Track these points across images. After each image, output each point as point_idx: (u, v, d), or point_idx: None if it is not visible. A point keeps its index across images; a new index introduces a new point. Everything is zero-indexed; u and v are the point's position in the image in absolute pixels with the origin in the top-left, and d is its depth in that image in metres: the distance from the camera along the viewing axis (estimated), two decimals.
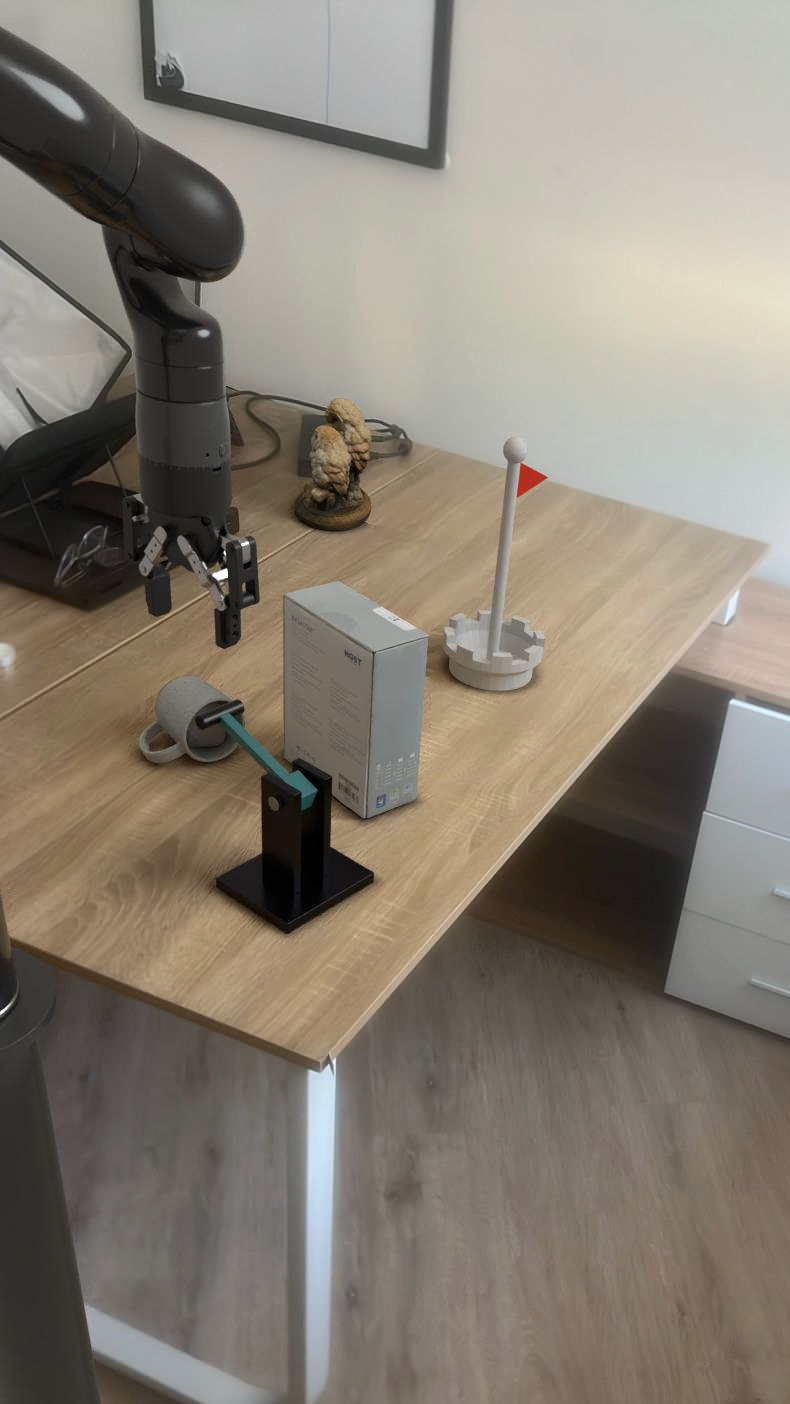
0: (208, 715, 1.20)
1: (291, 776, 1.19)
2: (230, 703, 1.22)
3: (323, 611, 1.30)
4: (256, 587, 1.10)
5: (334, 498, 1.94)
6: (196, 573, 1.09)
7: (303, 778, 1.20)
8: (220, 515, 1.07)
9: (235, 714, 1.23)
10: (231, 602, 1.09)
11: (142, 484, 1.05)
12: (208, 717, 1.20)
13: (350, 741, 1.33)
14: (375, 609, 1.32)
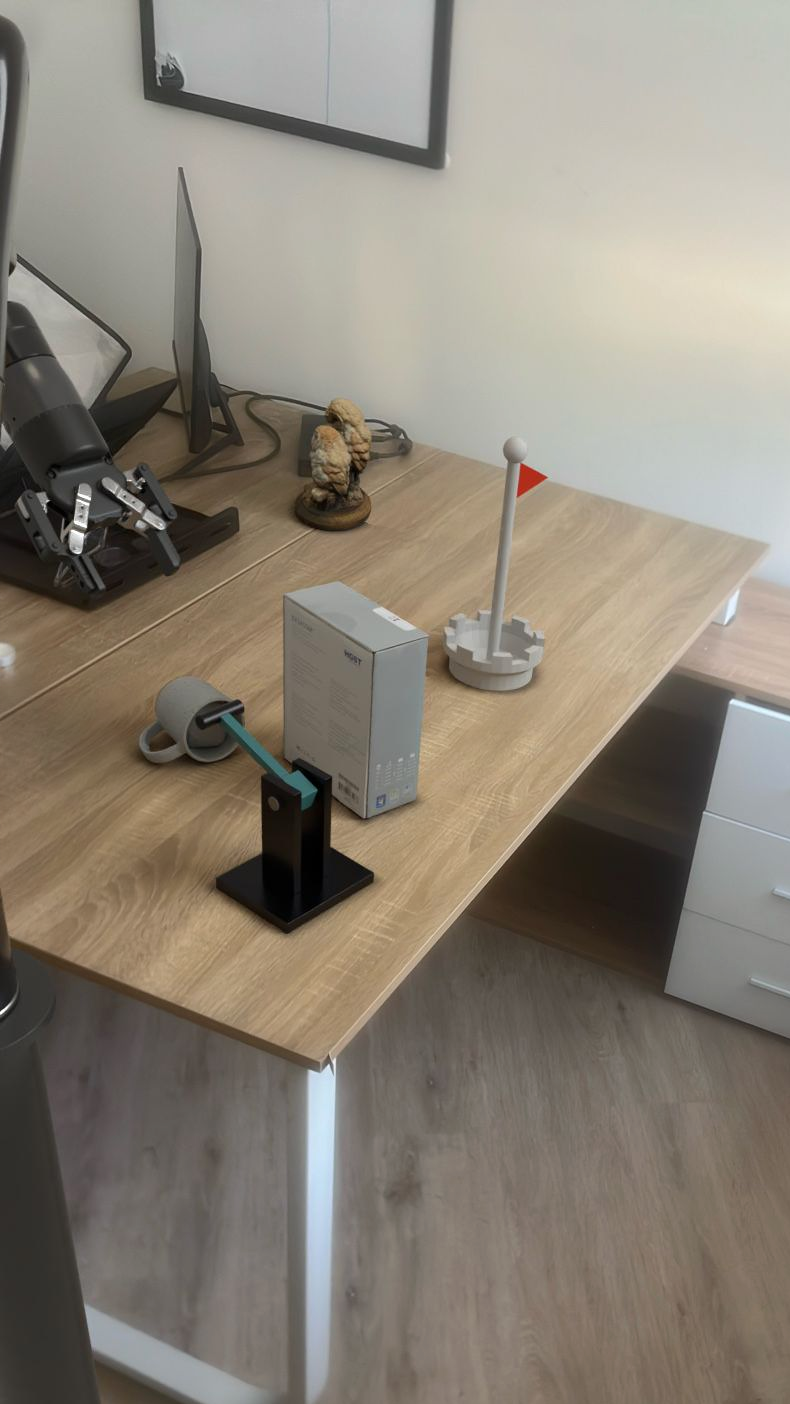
0: (208, 715, 1.20)
1: (291, 776, 1.19)
2: (230, 703, 1.22)
3: (323, 611, 1.30)
4: (160, 511, 1.25)
5: (334, 498, 1.94)
6: (131, 504, 1.20)
7: (303, 778, 1.20)
8: None
9: (235, 714, 1.23)
10: (168, 513, 1.23)
11: (64, 435, 1.15)
12: (208, 717, 1.20)
13: (350, 741, 1.33)
14: (375, 609, 1.32)
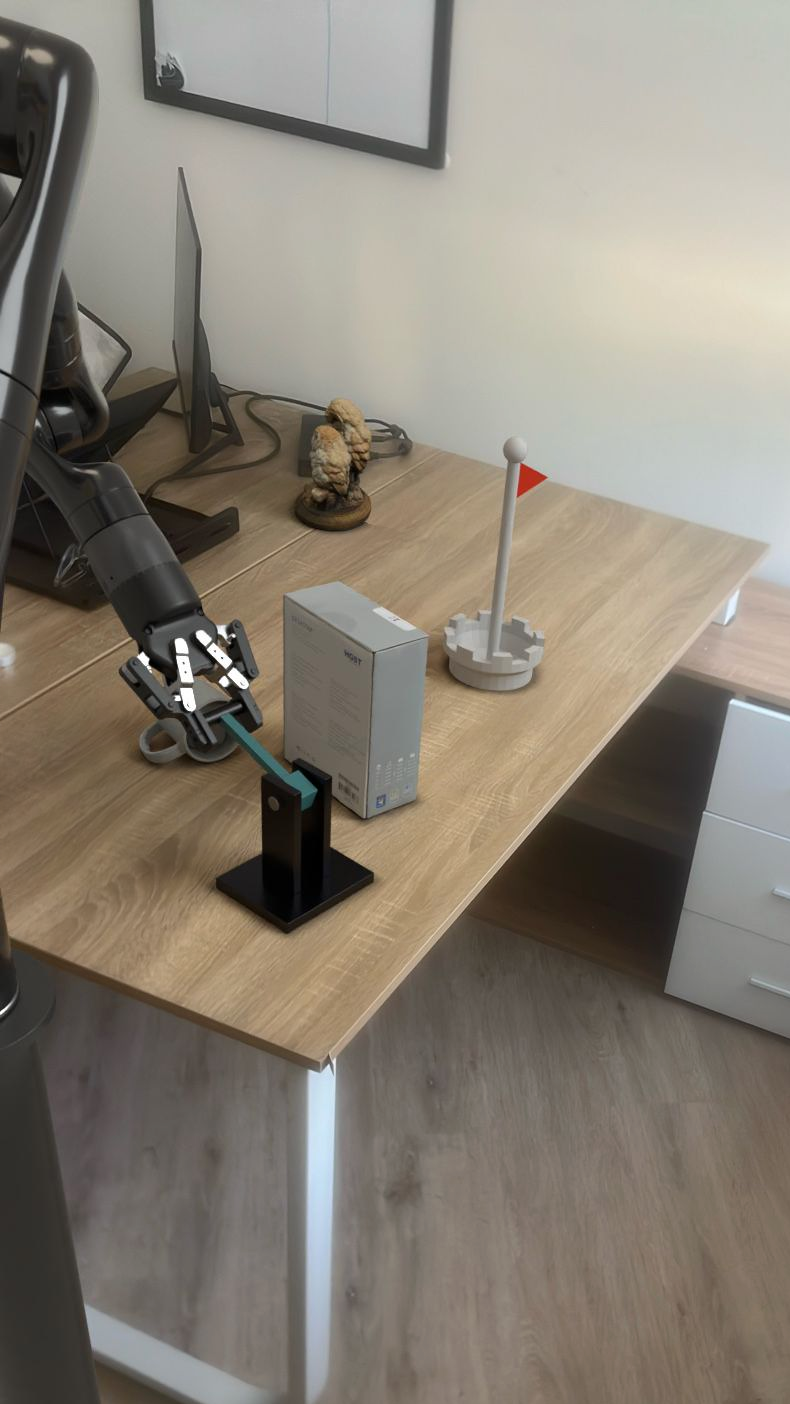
0: (208, 715, 1.20)
1: (291, 776, 1.19)
2: (230, 703, 1.22)
3: (323, 611, 1.30)
4: (244, 668, 1.26)
5: (334, 498, 1.94)
6: (219, 660, 1.21)
7: (303, 778, 1.20)
8: None
9: (235, 714, 1.23)
10: (250, 671, 1.24)
11: (161, 593, 1.17)
12: (208, 717, 1.20)
13: (350, 741, 1.33)
14: (375, 609, 1.32)
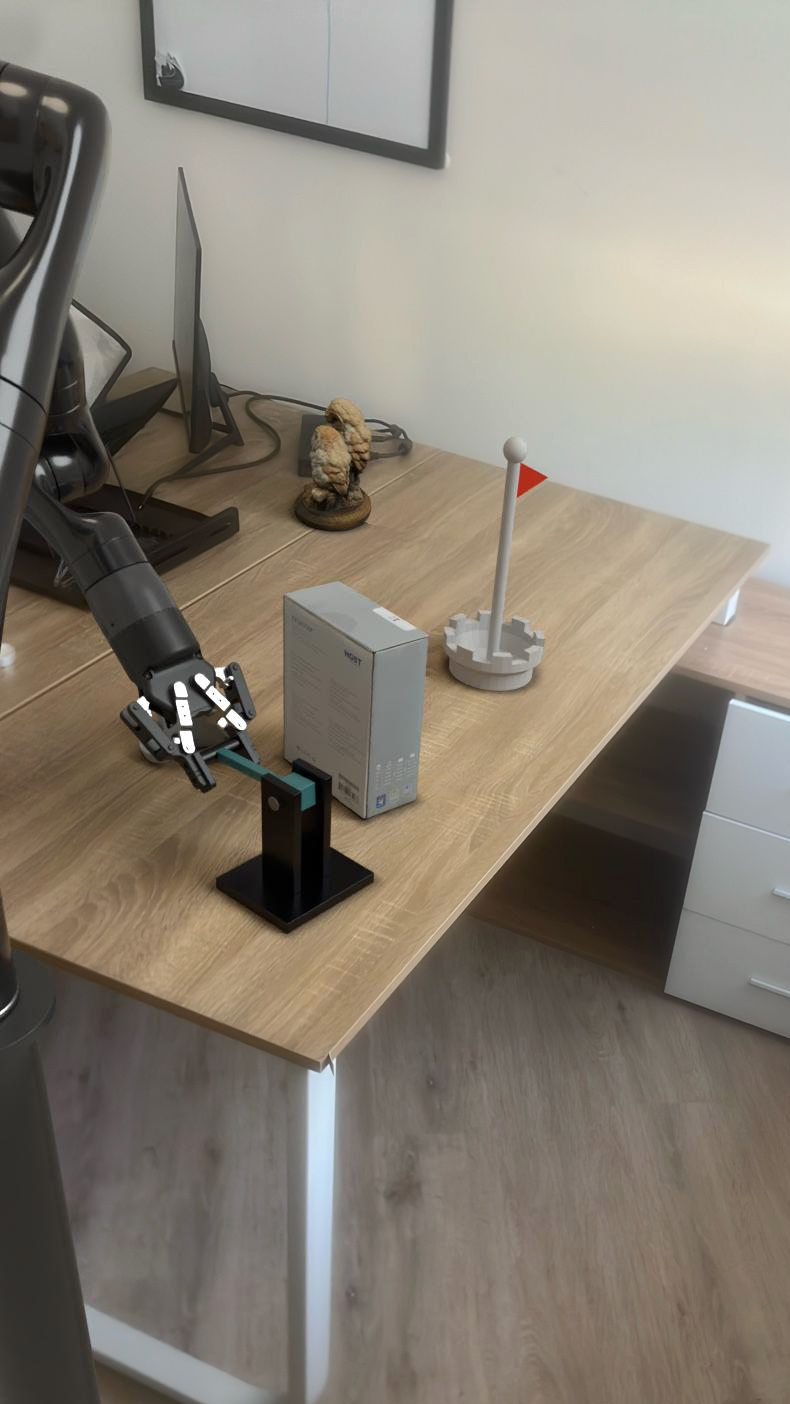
0: (203, 751, 1.23)
1: (287, 777, 1.20)
2: (225, 740, 1.26)
3: (323, 611, 1.30)
4: (242, 709, 1.29)
5: (334, 498, 1.94)
6: (217, 702, 1.24)
7: (299, 776, 1.20)
8: None
9: (232, 749, 1.26)
10: (248, 712, 1.27)
11: (161, 639, 1.20)
12: (204, 753, 1.23)
13: (350, 741, 1.33)
14: (375, 609, 1.32)
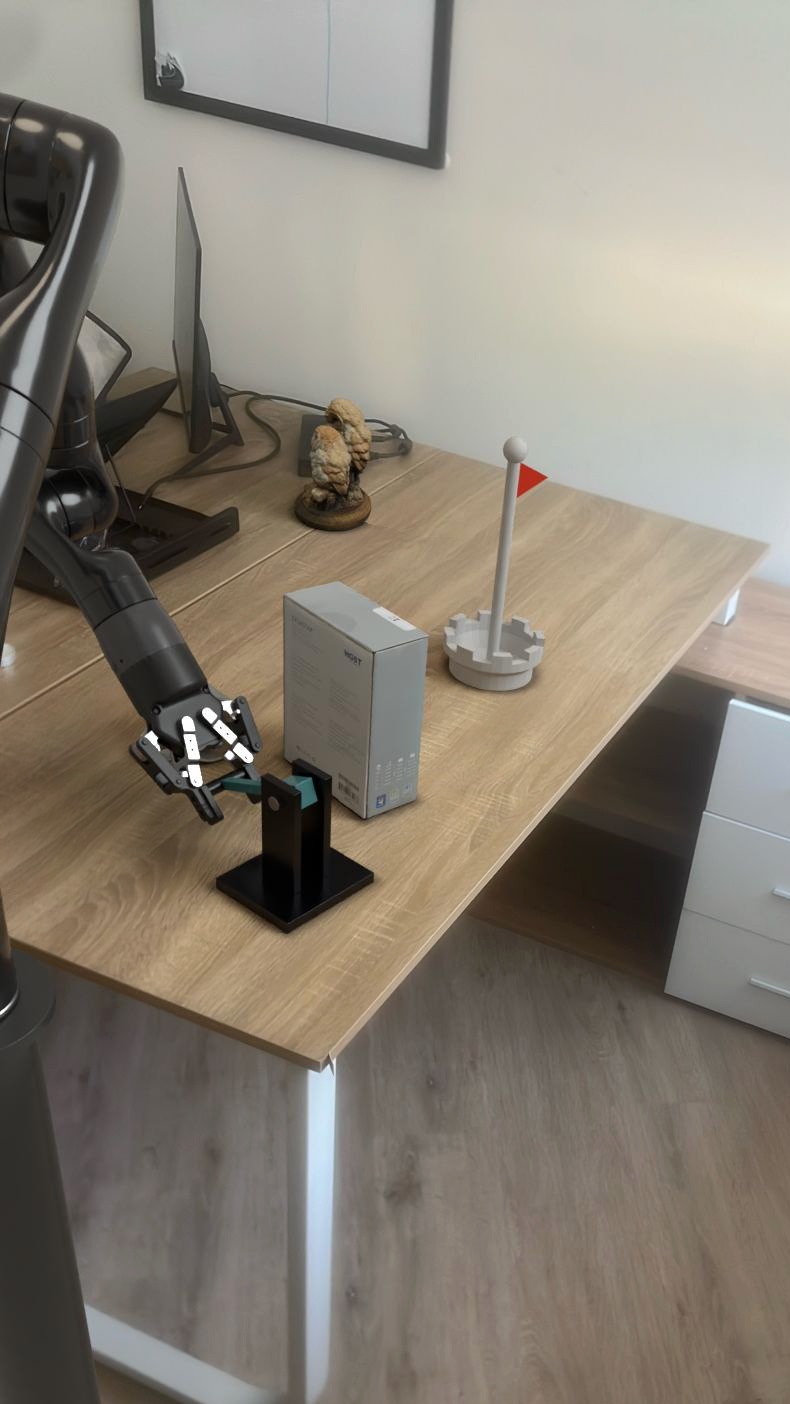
0: (208, 782, 1.25)
1: (285, 779, 1.20)
2: None
3: (323, 611, 1.30)
4: (248, 741, 1.31)
5: (334, 498, 1.94)
6: (224, 736, 1.26)
7: (297, 777, 1.20)
8: None
9: (237, 778, 1.27)
10: (254, 745, 1.29)
11: (169, 675, 1.22)
12: (209, 783, 1.25)
13: (350, 741, 1.33)
14: (375, 609, 1.32)
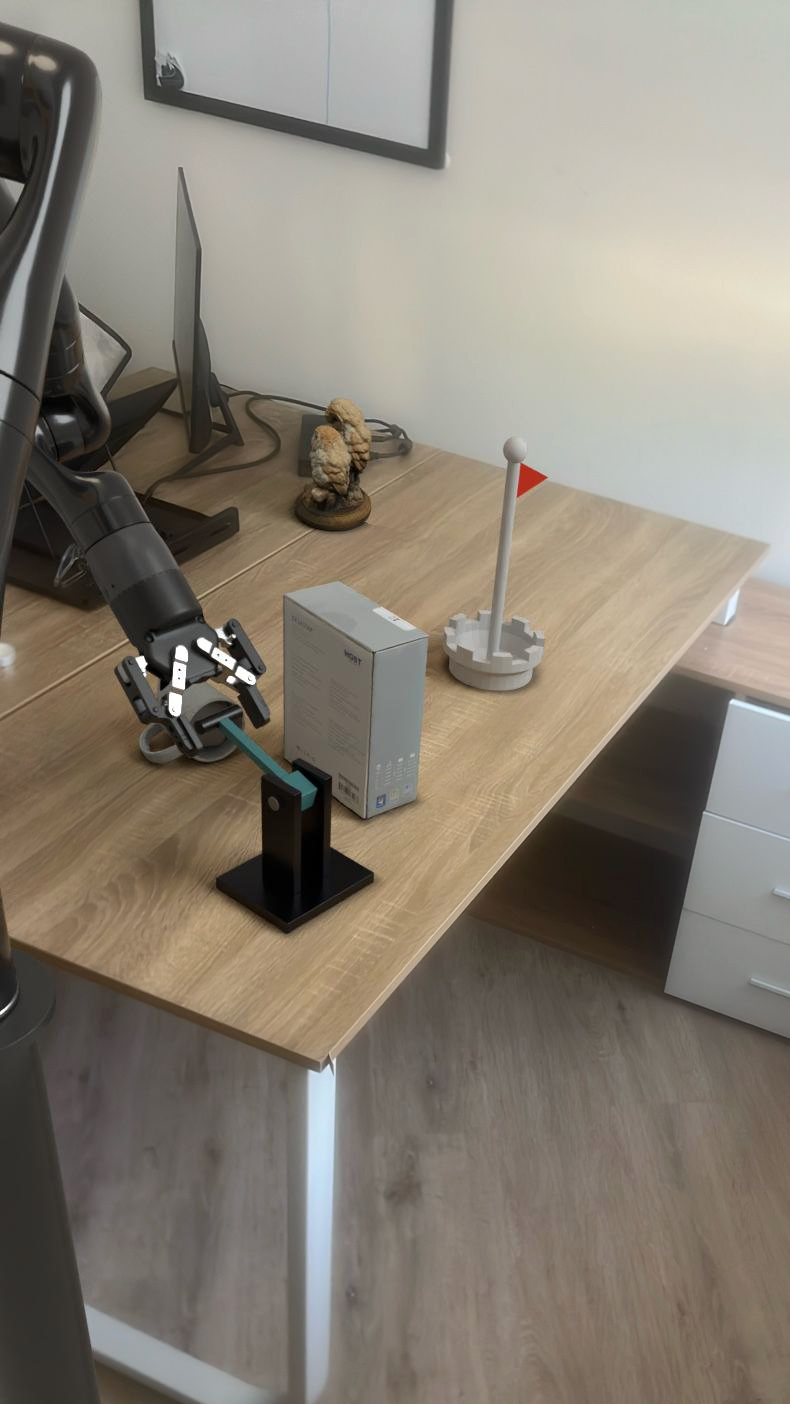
0: (206, 719, 1.21)
1: (290, 776, 1.20)
2: (228, 708, 1.23)
3: (323, 611, 1.30)
4: (248, 663, 1.27)
5: (334, 498, 1.94)
6: (224, 662, 1.22)
7: (303, 778, 1.20)
8: None
9: (234, 719, 1.23)
10: (258, 667, 1.25)
11: (162, 601, 1.17)
12: (207, 721, 1.21)
13: (350, 741, 1.33)
14: (375, 609, 1.32)
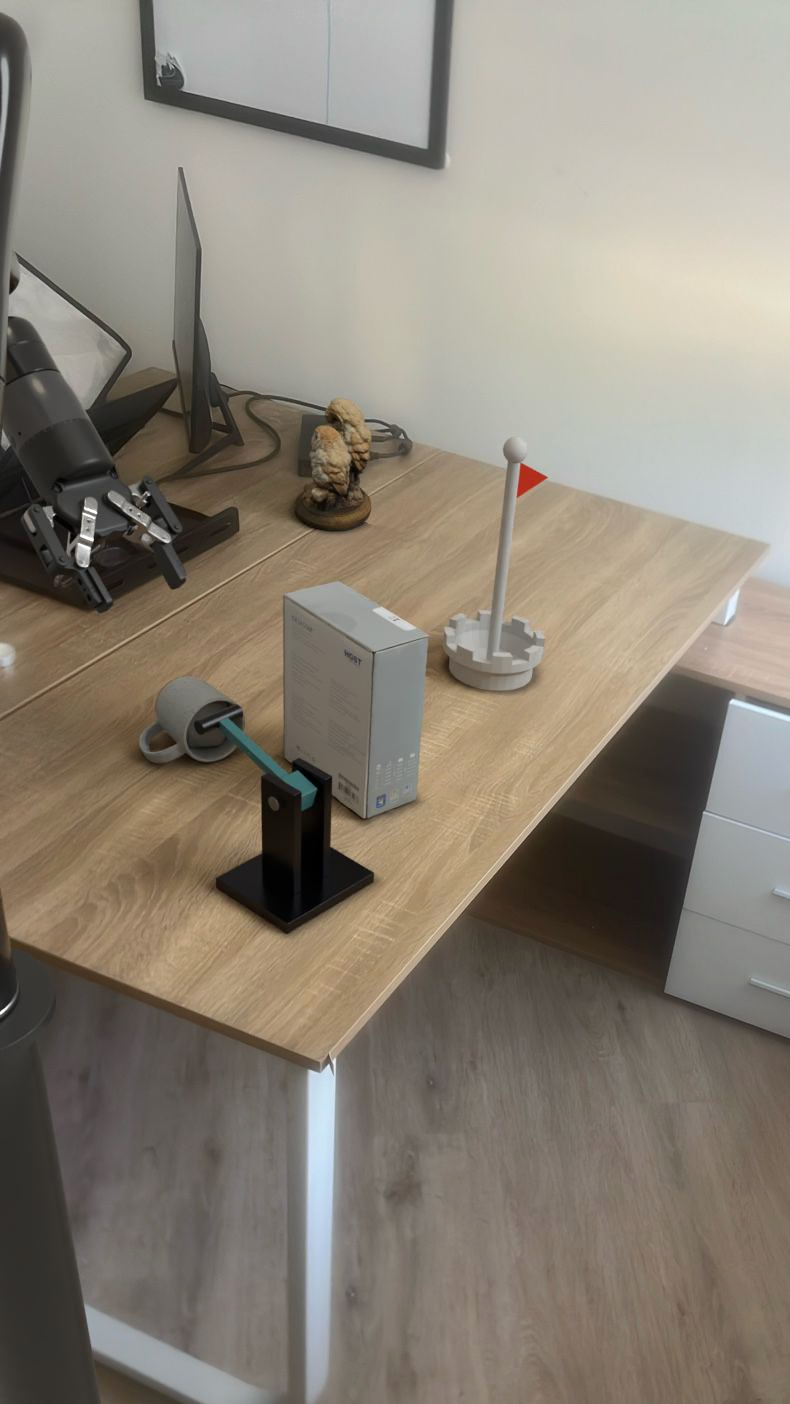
0: (206, 719, 1.21)
1: (290, 776, 1.20)
2: (228, 708, 1.23)
3: (323, 611, 1.30)
4: (165, 524, 1.25)
5: (334, 498, 1.94)
6: (137, 518, 1.20)
7: (303, 778, 1.20)
8: None
9: (234, 719, 1.23)
10: (173, 526, 1.23)
11: (70, 449, 1.15)
12: (207, 721, 1.21)
13: (350, 741, 1.33)
14: (375, 609, 1.32)
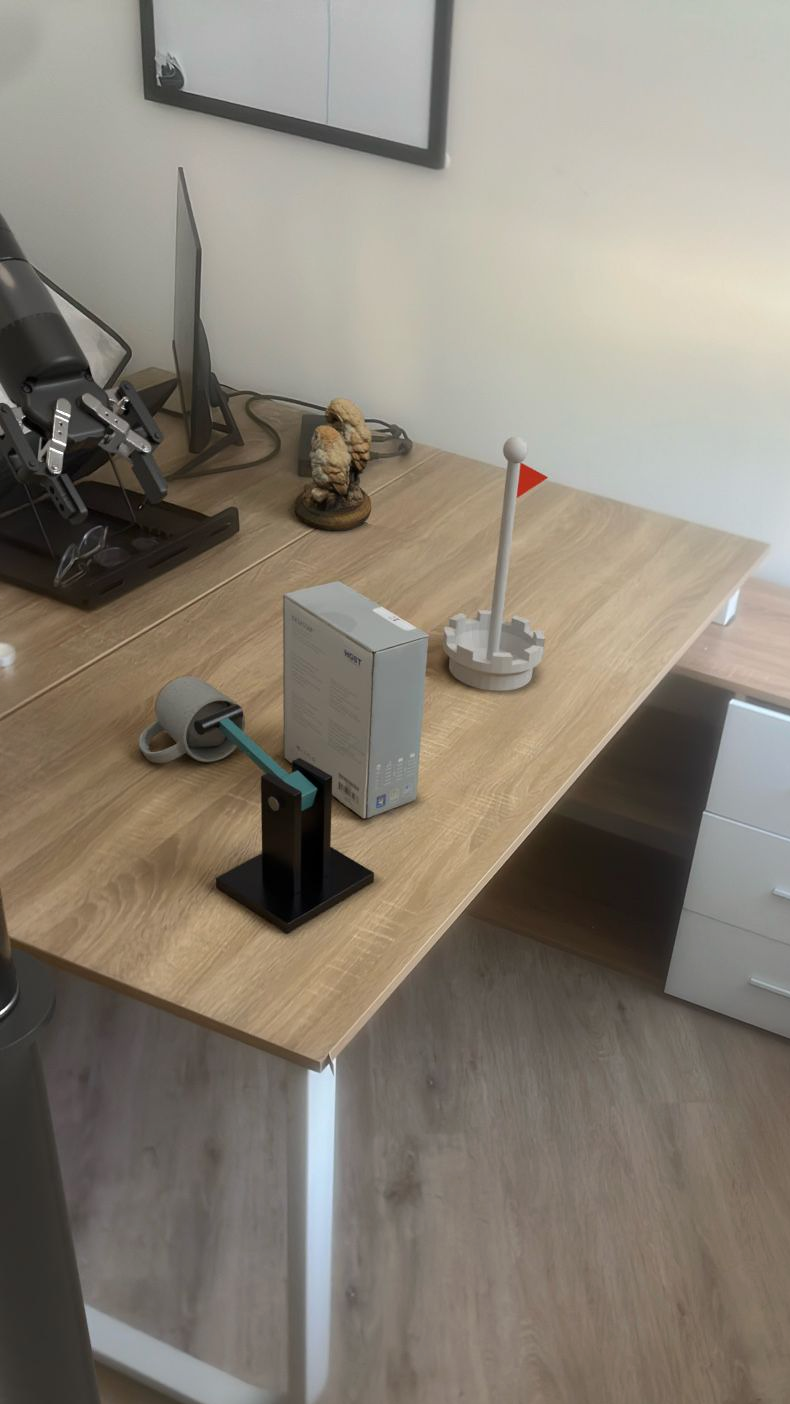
0: (206, 719, 1.21)
1: (290, 776, 1.20)
2: (228, 708, 1.23)
3: (323, 611, 1.30)
4: (145, 435, 1.16)
5: (334, 498, 1.94)
6: (114, 424, 1.11)
7: (303, 778, 1.20)
8: None
9: (234, 719, 1.23)
10: (154, 435, 1.14)
11: (40, 345, 1.06)
12: (207, 721, 1.21)
13: (350, 741, 1.33)
14: (375, 609, 1.32)
